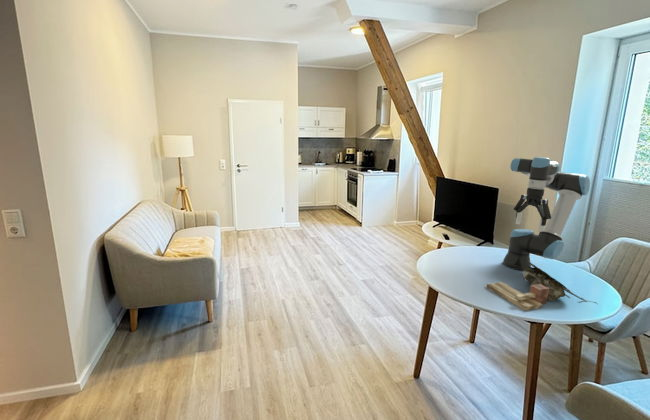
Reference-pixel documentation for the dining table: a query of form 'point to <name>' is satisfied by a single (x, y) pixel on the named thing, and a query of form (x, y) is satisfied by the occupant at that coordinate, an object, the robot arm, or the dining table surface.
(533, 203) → the robot arm
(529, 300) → the board
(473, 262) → the dining table surface
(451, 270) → the dining table surface
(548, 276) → the hollow geode rock
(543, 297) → the brown block with handle
